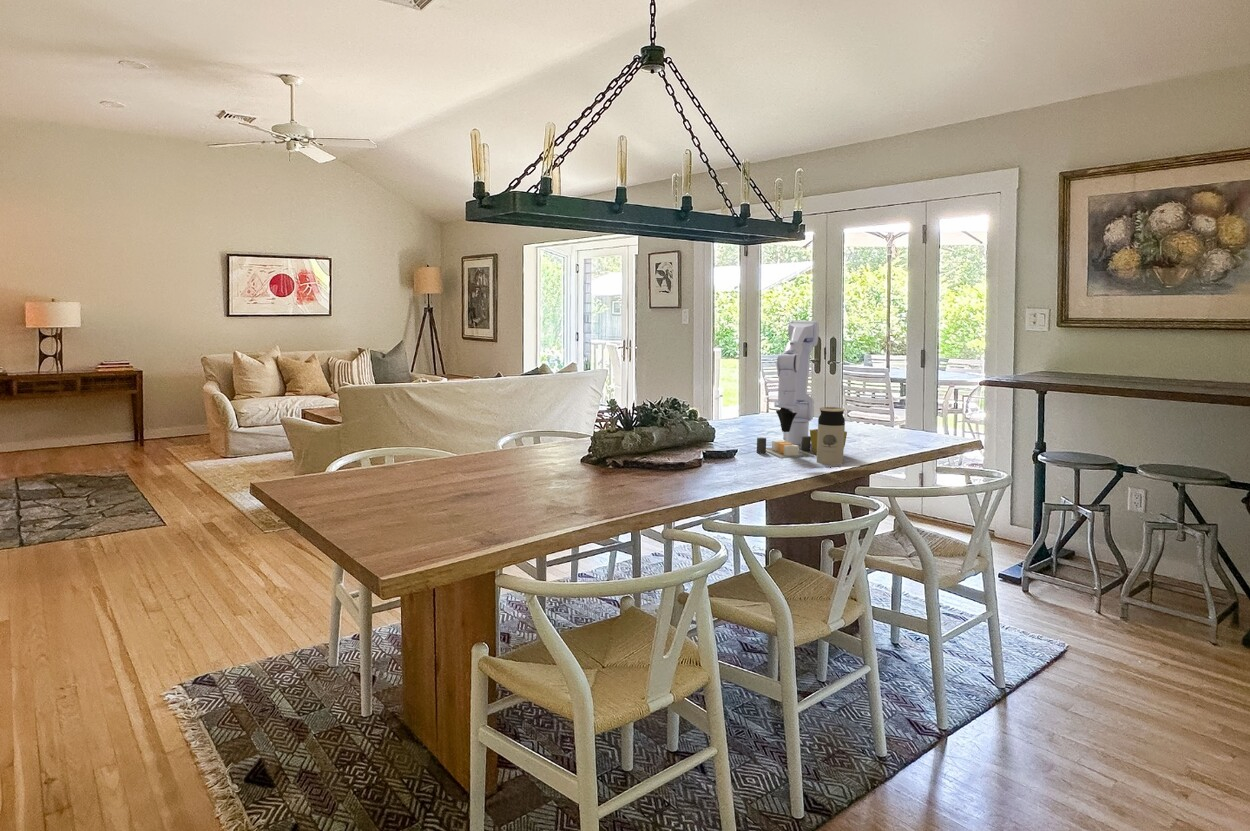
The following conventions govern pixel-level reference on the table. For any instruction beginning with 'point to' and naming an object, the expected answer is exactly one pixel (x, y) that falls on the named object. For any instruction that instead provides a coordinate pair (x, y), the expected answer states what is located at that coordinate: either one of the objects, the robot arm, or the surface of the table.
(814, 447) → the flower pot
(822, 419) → the travel mug
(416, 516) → the table surface
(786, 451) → the block
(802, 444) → the cylinder
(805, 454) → the panel
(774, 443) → the block
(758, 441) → the cord post
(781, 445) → the block
